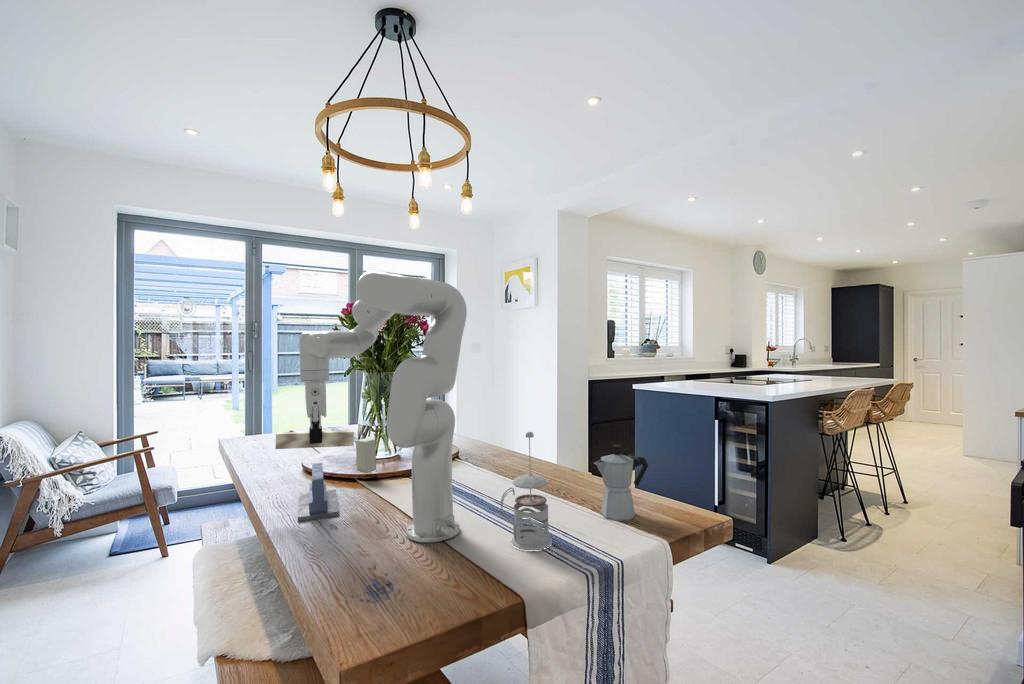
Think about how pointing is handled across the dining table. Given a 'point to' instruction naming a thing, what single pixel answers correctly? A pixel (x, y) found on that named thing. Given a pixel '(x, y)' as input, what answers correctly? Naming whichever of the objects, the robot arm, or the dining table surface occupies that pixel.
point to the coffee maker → (619, 484)
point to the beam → (303, 441)
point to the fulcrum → (317, 498)
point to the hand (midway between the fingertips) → (315, 441)
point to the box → (366, 455)
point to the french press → (527, 534)
